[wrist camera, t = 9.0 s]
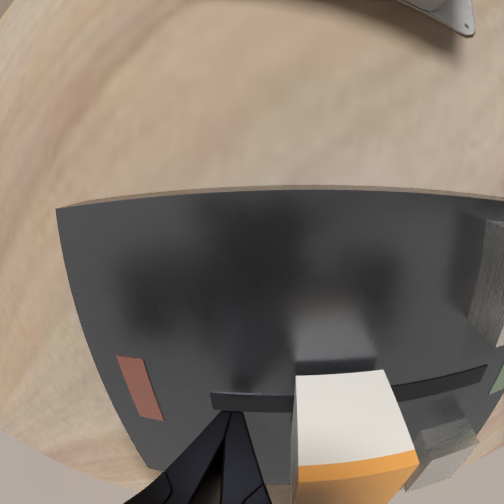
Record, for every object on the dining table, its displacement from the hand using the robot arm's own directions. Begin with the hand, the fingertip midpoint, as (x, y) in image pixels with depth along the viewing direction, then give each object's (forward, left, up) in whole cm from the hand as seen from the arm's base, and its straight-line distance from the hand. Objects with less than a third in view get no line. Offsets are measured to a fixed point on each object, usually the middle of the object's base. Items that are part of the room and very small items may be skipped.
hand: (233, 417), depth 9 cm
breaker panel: (-4, 0, -3) cm, 5 cm away
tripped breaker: (-4, 0, -1) cm, 4 cm away
